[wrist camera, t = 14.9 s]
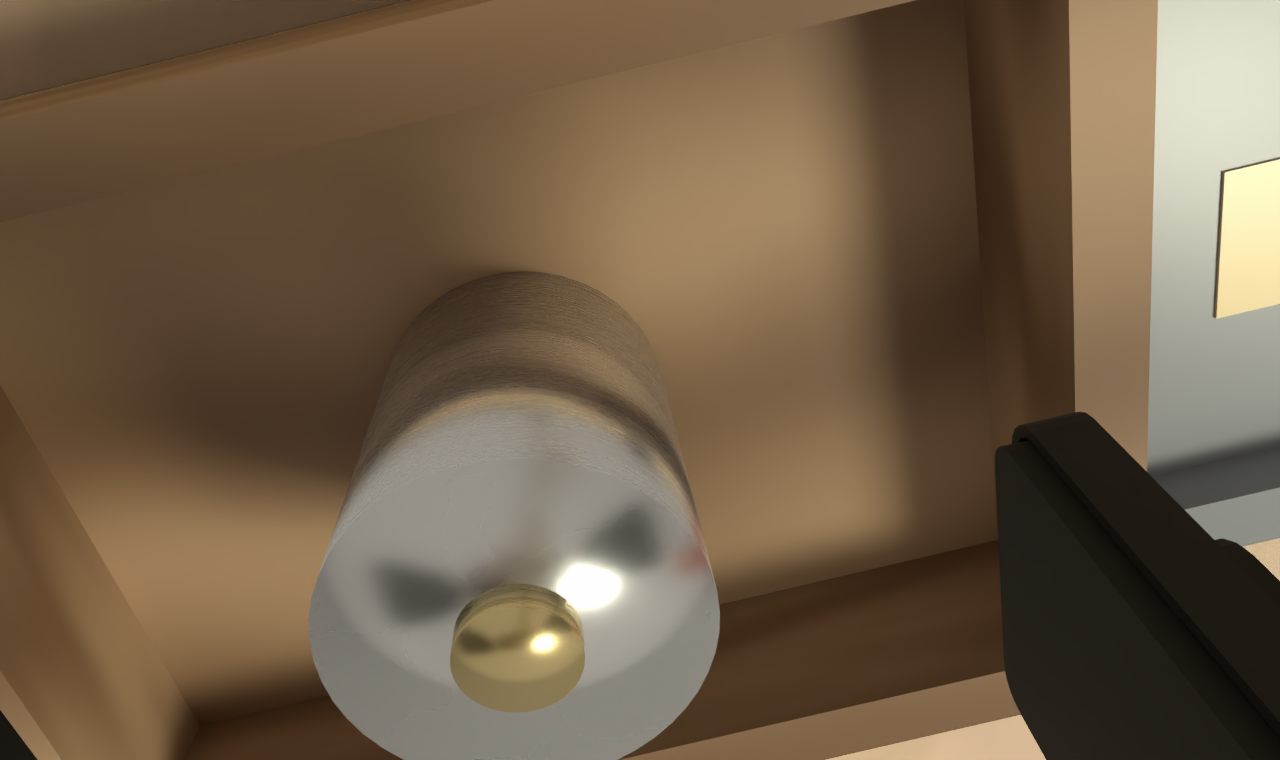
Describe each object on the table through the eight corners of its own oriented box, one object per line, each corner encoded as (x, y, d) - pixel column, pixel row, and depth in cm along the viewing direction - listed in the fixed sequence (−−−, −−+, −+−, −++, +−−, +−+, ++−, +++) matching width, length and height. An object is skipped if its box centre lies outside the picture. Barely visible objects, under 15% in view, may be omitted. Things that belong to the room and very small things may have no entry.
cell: (345, 309, 15) (230, 541, 9) (630, 241, 14) (682, 435, 9) (435, 542, 16) (383, 847, 11) (686, 483, 16) (757, 761, 11)
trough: (-166, 141, 14) (-415, 222, 10) (998, -145, 14) (1162, -163, 10) (187, 734, 19) (105, 924, 16) (1028, 539, 19) (1142, 686, 15)
